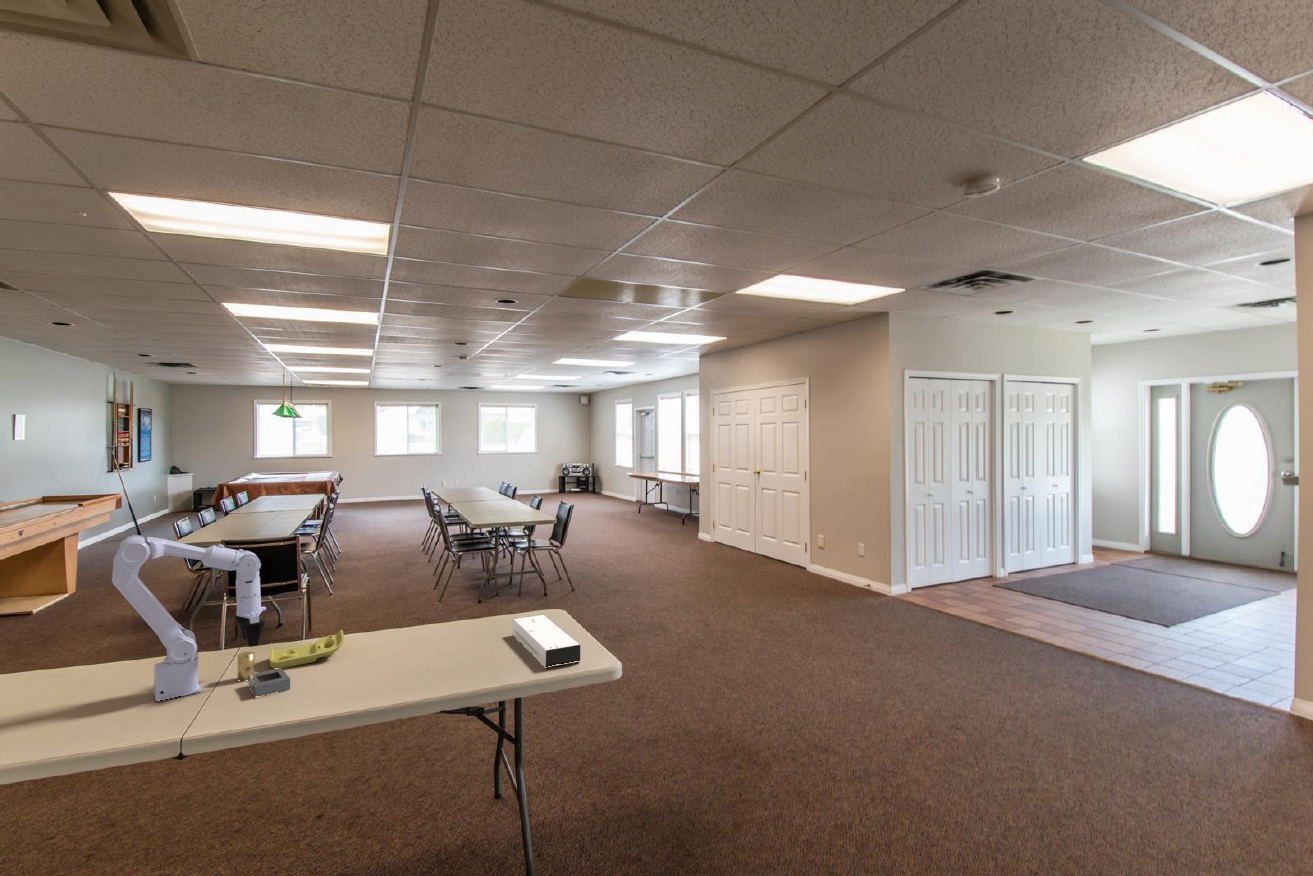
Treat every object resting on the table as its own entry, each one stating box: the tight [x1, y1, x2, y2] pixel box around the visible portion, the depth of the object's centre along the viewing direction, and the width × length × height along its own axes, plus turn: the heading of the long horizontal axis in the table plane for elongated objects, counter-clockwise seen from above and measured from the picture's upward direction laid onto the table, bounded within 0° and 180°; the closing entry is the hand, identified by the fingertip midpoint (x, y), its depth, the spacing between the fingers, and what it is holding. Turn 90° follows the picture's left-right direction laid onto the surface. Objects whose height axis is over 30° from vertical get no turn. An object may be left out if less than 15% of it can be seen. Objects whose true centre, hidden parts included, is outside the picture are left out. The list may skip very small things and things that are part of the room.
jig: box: [247, 668, 291, 697], centre depth 169 cm, size 8×10×3 cm
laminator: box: [512, 614, 581, 667], centre depth 203 cm, size 34×12×6 cm, turn 30°
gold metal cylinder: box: [236, 651, 256, 682], centre depth 175 cm, size 4×4×7 cm
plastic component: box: [268, 629, 345, 669], centre depth 190 cm, size 20×7×10 cm
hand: (250, 642), depth 175 cm, fingers open, 7 cm apart
